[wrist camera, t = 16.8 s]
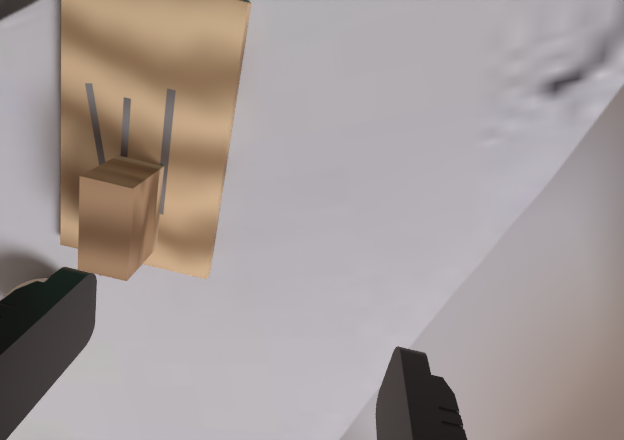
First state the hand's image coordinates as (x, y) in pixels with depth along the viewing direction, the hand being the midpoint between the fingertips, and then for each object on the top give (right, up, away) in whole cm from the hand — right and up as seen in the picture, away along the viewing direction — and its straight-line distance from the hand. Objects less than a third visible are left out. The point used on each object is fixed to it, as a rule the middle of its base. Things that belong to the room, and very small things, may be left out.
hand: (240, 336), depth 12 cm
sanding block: (-13, +4, +29) cm, 32 cm away
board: (-12, +10, +27) cm, 32 cm away
